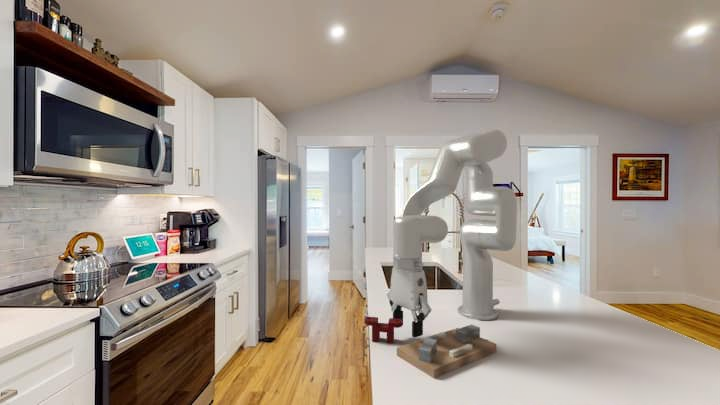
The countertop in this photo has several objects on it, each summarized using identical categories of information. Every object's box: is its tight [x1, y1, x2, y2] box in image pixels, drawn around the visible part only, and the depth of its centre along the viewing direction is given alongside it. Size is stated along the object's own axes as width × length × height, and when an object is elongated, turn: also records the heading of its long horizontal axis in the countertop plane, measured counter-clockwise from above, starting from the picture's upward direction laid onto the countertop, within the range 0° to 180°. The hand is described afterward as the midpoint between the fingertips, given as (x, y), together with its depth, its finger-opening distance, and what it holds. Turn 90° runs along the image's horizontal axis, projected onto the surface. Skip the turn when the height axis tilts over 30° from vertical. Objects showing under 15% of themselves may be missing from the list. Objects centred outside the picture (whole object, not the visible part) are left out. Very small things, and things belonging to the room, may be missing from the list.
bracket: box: [363, 316, 403, 344], centre depth 84 cm, size 3×6×10 cm
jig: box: [396, 324, 497, 379], centre depth 77 cm, size 22×12×4 cm, turn 123°
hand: (407, 330), depth 83 cm, fingers open, 6 cm apart
